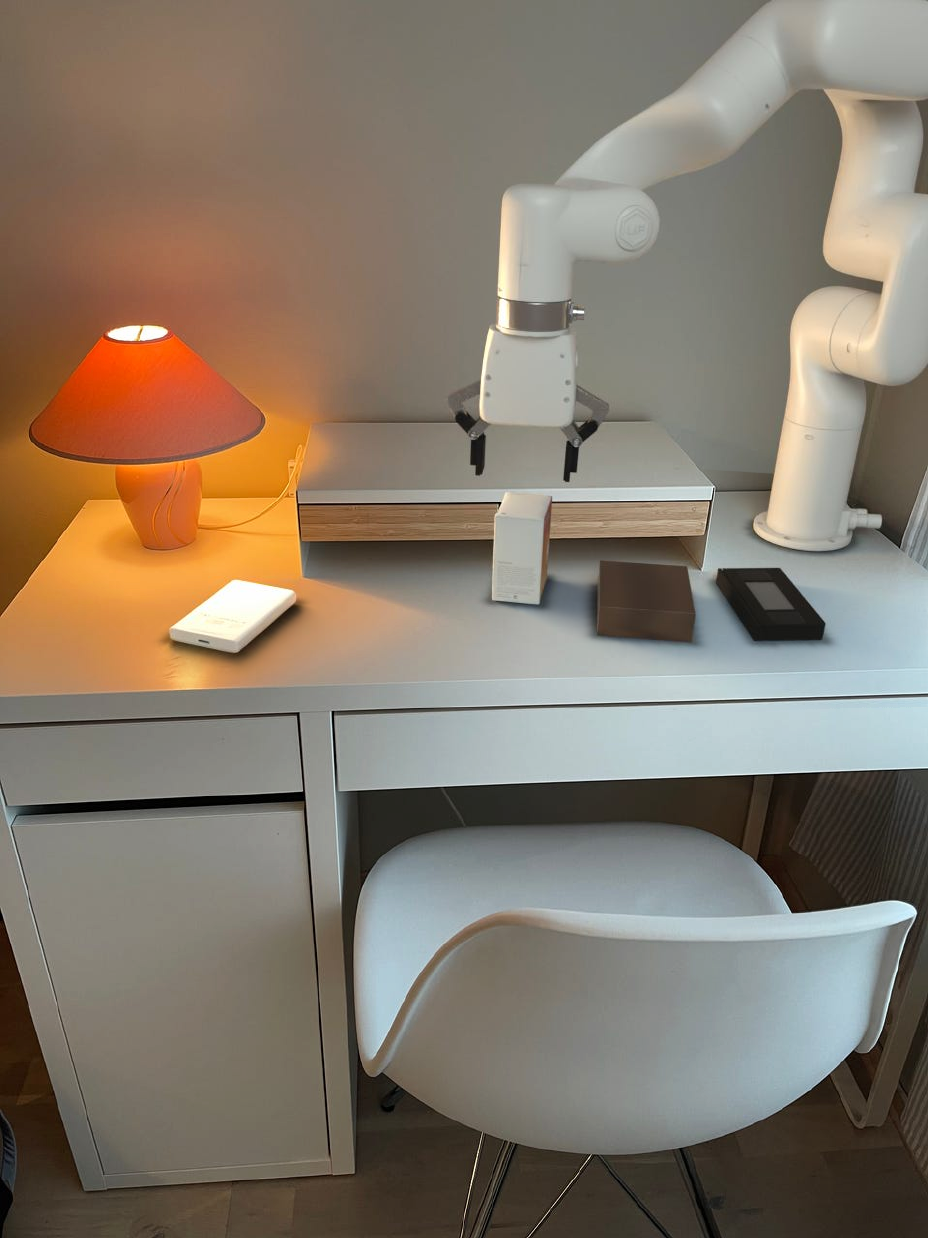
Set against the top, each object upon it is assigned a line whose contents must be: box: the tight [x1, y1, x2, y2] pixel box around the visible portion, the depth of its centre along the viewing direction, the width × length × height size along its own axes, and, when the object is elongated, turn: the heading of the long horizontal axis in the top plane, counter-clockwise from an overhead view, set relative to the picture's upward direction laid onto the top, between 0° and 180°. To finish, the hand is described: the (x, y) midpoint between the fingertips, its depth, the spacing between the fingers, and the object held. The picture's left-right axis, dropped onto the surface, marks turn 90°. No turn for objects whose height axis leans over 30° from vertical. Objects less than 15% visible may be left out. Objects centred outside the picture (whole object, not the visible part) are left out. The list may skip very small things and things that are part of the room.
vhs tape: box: [715, 567, 827, 642], centre depth 112 cm, size 8×14×2 cm, turn 4°
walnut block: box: [596, 559, 697, 643], centre depth 110 cm, size 10×12×4 cm
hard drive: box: [168, 579, 297, 654], centre depth 107 cm, size 2×8×12 cm
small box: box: [491, 491, 553, 606], centre depth 113 cm, size 8×6×10 cm
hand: (523, 474), depth 109 cm, fingers open, 9 cm apart
